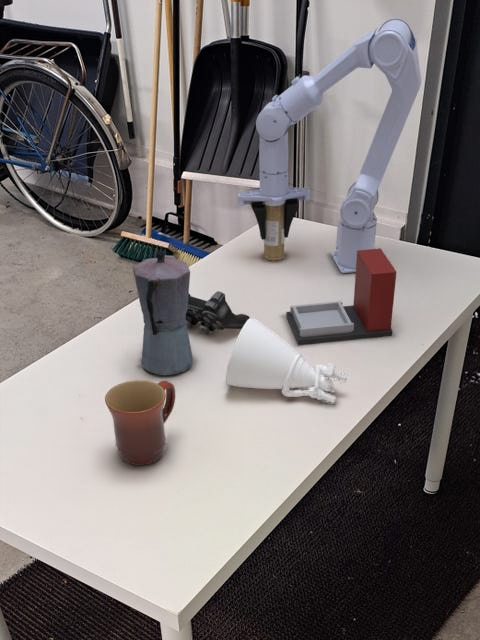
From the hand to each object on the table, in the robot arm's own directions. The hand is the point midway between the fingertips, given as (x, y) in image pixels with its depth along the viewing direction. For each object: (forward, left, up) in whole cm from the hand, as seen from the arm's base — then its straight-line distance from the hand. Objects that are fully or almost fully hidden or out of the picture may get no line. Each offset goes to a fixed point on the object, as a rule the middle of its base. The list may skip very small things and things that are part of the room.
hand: (273, 236), depth 178 cm
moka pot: (+40, -26, -5) cm, 48 cm away
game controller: (+27, -18, -5) cm, 33 cm away
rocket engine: (+53, -8, -5) cm, 53 cm away
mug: (+64, -31, -5) cm, 71 cm away
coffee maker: (+32, +6, -4) cm, 33 cm away
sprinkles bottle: (0, 0, -5) cm, 5 cm away
